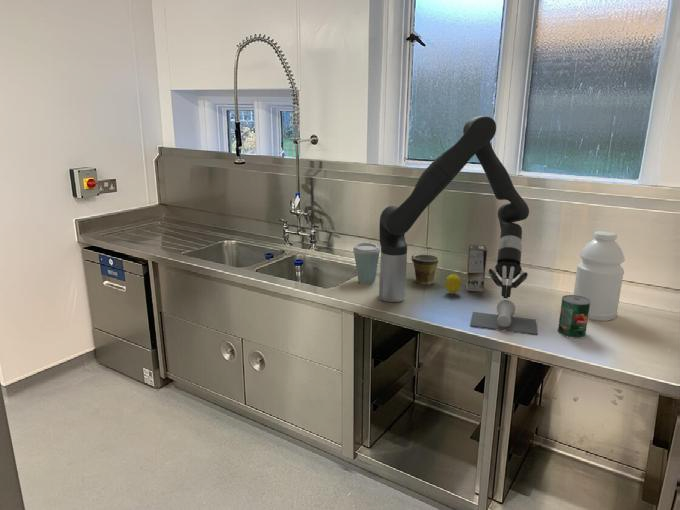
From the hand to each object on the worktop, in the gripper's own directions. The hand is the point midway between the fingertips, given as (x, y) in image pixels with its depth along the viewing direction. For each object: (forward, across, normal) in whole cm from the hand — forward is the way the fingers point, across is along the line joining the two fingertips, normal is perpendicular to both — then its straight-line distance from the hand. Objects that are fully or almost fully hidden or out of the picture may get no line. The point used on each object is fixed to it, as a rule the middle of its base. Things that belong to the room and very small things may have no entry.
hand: (505, 297), depth 169 cm
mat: (+9, 0, +2) cm, 9 cm away
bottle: (-5, +29, +15) cm, 33 cm away
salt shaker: (+1, 0, +4) cm, 5 cm away
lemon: (-8, -19, +18) cm, 27 cm away
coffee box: (-15, -11, +25) cm, 32 cm away
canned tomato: (+9, +20, +1) cm, 22 cm away
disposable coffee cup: (-10, -53, +20) cm, 57 cm away
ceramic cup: (-16, -32, +26) cm, 44 cm away
